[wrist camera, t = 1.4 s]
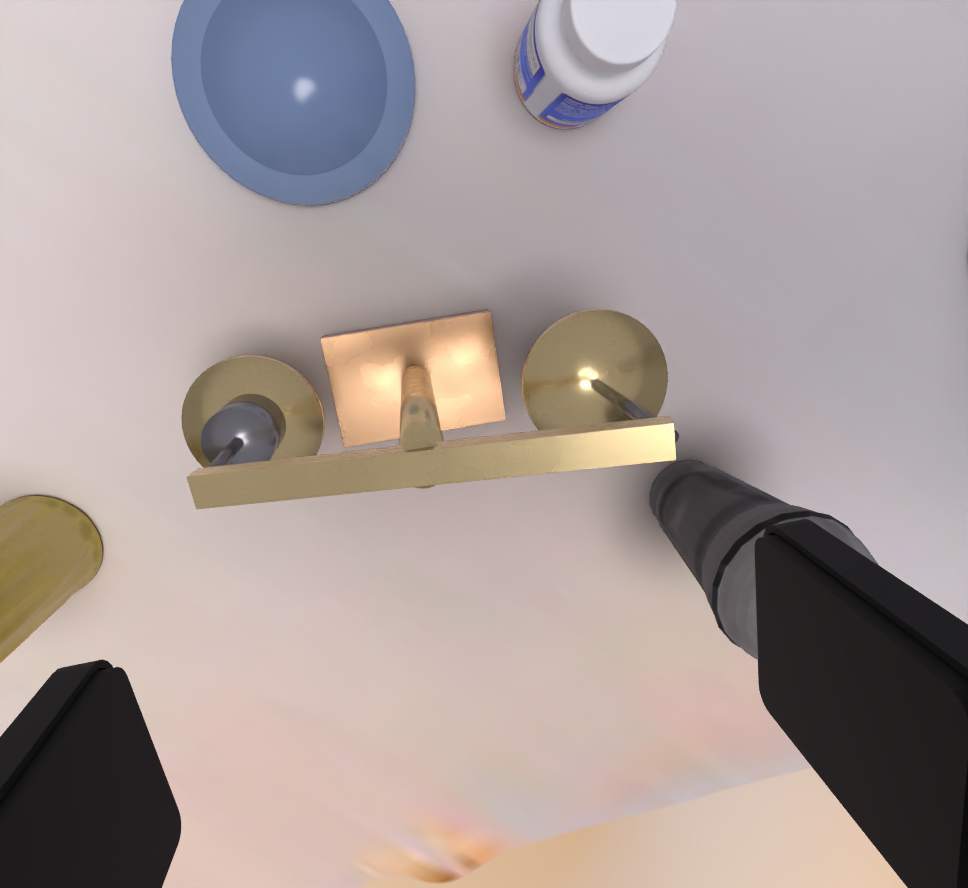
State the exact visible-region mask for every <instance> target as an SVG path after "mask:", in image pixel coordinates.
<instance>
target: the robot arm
mask: <svg viewBox="0 0 968 888" xmlns="http://www.w3.org/2000/svg"><path fill="white" fill-rule="evenodd" d="M754 551H755V582H756V614H757V645H758V676H759V690H760V694H761V697H762V700H763V703H764V705H765V707H766V709H767V710H768V712H769V713H770V714H771V716H772V717H773V718H774V719H775V721H776V722H777V723H778V724H779V726H780V727H781V728H782V730H783V731H784V732H785V733H786V735H787V736H788V737H789V738H790V740H791V741H792V742H793V743H794V745H795V746H796V747H797V748H798V750H799V751H800V752H801V754H802V755H803V756H804V757H805V759H806V760H807V761H808V762H809V764H810V765H811V766H812V767H813V769H814V770H815V771H816V772H817V773H818V775H819V776H820V778H821V779H822V780H823V781H824V782H825V784H826V785H827V786H828V788H829V789H830V790H831V791H832V793H833V794H834V795H835V796H836V798H837V799H838V800H839V802H840V803H841V804H842V805H843V807H844V808H845V809H846V810H847V812H848V813H849V814H850V815H851V817H852V818H853V819H854V820H855V822H856V823H857V824H858V826H859V827H860V828H861V829H862V831H863V832H864V833H865V834H866V836H867V837H868V838H869V839H870V841H871V842H872V843H873V845H874V846H875V847H876V848H877V850H878V851H879V852H880V853H881V855H882V856H883V857H884V858H885V860H886V861H887V862H888V863H889V865H890V866H891V867H892V869H893V870H894V871H895V872H896V873H897V875H898V876H899V877H900V879H901V880H902V881H903V882H904V883H905V885H906V886H907V887H908V888H968V624H966V623H965V622H963V621H962V620H960V619H959V618H957V617H956V616H954V615H953V614H951V613H950V612H948V611H947V610H945V609H944V608H942V607H941V606H939V605H938V604H936V603H935V602H933V601H931V600H930V599H928V598H927V597H925V596H924V595H922V594H921V593H919V592H918V591H916V590H915V589H913V588H912V587H910V586H909V585H907V584H906V583H904V582H903V581H901V580H900V579H898V578H897V577H895V576H894V575H892V574H891V573H889V572H888V571H886V570H885V569H883V568H882V567H880V566H879V565H877V564H876V563H874V562H873V561H871V560H870V559H868V558H867V557H865V556H864V555H862V554H861V553H859V552H858V551H856V550H855V549H853V548H852V547H850V546H849V545H847V544H846V543H844V542H843V541H841V540H840V539H838V538H837V537H835V536H834V535H832V534H830V533H829V532H827V531H826V530H824V529H823V528H821V527H820V526H818V525H817V524H815V523H814V522H812V521H810V520H808V519H801V520H796V521H791V522H786V523H781V524H776V525H771V526H768V527H767V528H766V529H765V532H764V534H763V537H760V538H758V539H757V540H756V542H755V548H754ZM180 834H181V818H180V813H179V810H178V807H177V805H176V802H175V799H174V797H173V794H172V791H171V789H170V786H169V784H168V781H167V778H166V776H165V773H164V771H163V768H162V765H161V763H160V760H159V758H158V755H157V752H156V750H155V747H154V744H153V742H152V739H151V737H150V734H149V731H148V729H147V726H146V724H145V721H144V718H143V716H142V713H141V710H140V708H139V705H138V703H137V700H136V697H135V695H134V692H133V690H132V687H131V684H130V682H129V679H128V676H127V675H126V673H125V671H124V670H123V669H122V668H120V667H115V668H113V666H112V665H111V664H110V663H109V662H108V661H106V660H98V661H93V662H88V663H83V664H78V665H73V666H68V667H63V668H60V669H57V670H56V671H55V672H54V673H53V674H52V675H51V676H50V677H49V679H48V680H47V681H46V682H45V684H44V685H43V686H42V687H41V688H40V690H39V691H38V692H37V693H36V694H35V696H34V697H33V698H32V699H31V700H30V702H29V703H28V704H27V705H26V707H25V708H24V709H23V710H22V711H21V713H20V714H19V715H18V716H17V717H16V719H15V720H14V721H13V722H12V724H11V725H10V726H9V727H8V728H7V730H6V731H5V732H4V733H3V734H2V736H1V737H0V888H162V885H163V883H164V880H165V878H166V875H167V872H168V870H169V867H170V864H171V862H172V859H173V856H174V854H175V851H176V848H177V846H178V843H179V839H180Z"/></svg>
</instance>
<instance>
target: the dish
mask: <svg viewBox="0 0 968 888" xmlns="http://www.w3.org/2000/svg"><path fill="white" fill-rule="evenodd" d="M171 60H172V74H173V80H174V86H175V91H176V95H177V98H178V101H179V104H180V107H181V111H182V113H183V115H184V117H185V119H186V122H187V124H188V126H189V128H190V130H191V131H192V133H193V135H194V136H195V138H196V140H197V141H198V143H199V144H200V146H201V147H202V148H203V149H204V151H205V152H206V153H207V155H208V156H209V157H210V158H211V159H212V160H213V161H214V162H215V163H216V164H217V165H218V166H219V167H220V168H221V169H222V170H223V171H224V172H225V173H227V174H228V175H229V176H230V177H232V178H233V179H234V180H236V181H237V182H239V183H240V184H242V185H244V186H245V187H247V188H249V189H251V190H253V191H255V192H257V193H259V194H261V195H263V196H266V197H269V198H272V199H275V200H278V201H281V202H286V203H291V204H297V205H321V204H328V203H333V202H337V201H341V200H343V199H346V198H349V197H351V196H353V195H355V194H357V193H359V192H361V191H363V190H364V189H366V188H367V187H368V186H370V185H371V184H372V183H374V182H375V181H376V180H377V179H378V178H379V177H380V176H381V175H382V174H383V173H384V172H385V171H386V170H387V169H388V168H389V166H390V165H391V164H392V162H393V161H394V160H395V158H396V156H397V155H398V153H399V151H400V149H401V148H402V146H403V143H404V141H405V138H406V136H407V133H408V130H409V127H410V123H411V119H412V113H413V106H414V93H415V77H414V67H413V60H412V55H411V51H410V46H409V43H408V40H407V37H406V34H405V31H404V28H403V26H402V24H401V22H400V20H399V18H398V16H397V14H396V12H395V10H394V9H393V7H392V5H391V4H390V2H389V1H388V0H184V1H183V4H182V6H181V8H180V11H179V14H178V17H177V20H176V23H175V29H174V34H173V40H172V56H171Z"/></svg>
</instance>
